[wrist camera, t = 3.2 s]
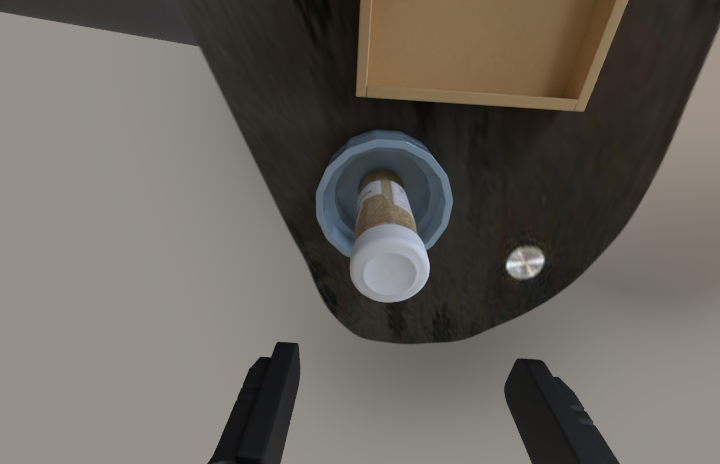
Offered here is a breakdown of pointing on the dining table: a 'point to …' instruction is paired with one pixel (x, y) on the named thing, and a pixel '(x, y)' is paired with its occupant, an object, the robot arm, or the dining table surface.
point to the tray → (485, 50)
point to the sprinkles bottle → (386, 241)
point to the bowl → (393, 153)
